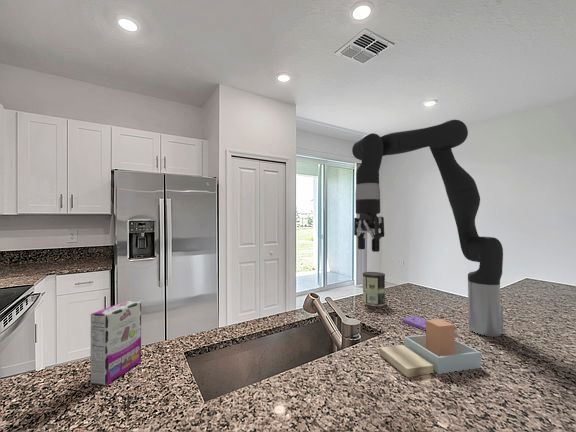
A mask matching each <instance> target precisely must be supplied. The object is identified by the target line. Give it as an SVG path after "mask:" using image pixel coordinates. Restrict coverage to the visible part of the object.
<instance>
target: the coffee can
mask: <svg viewBox="0 0 576 432" xmlns="http://www.w3.org/2000/svg"><path fill="white" fill-rule="evenodd" d="M385 276H386V274H385V273H384V272H378V271H364V272H362V302H363V303H362V304H363V305H366V306H371V307H384V306H386V277H385Z"/></svg>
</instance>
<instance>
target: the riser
mask: <svg viewBox="0 0 576 432" xmlns="http://www.w3.org/2000/svg"><path fill="white" fill-rule="evenodd" d="M379 355H380V356H381V357H382V358H383V359H385V361H387V362H388V363H389V364H391V366H393V367H394V368H395V369H397V370H398V372H400V373H401V374H402V375H404V376H405V377H406V378H411V377H418V375H419V376H425V374H426V375H431V374H430V373H433V374H434V371H433V365H432V364H431V363H429V362H428V361H426V360H425V359H423V358H422V357H420V356H419V355H417V354H416V353H414V352H413V351H411V350H410V349H408V348H407V347H405V346H404V344H399V345H397V344H396V345H388V346H381V347H379Z"/></svg>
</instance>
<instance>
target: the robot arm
mask: <svg viewBox="0 0 576 432" xmlns="http://www.w3.org/2000/svg"><path fill="white" fill-rule="evenodd" d="M468 131H469V129H468V126H467V125H466V123H464V122H463V121H461V120H459V119H450V120H449V119H448V120H446V121H445V122H442V123H440V124H439V123H438V124H437V125H433V126H428V127H423V128H415V129H409V130H404V131H395V132H388V133H386V134H383V135H378V134H377V133H373V132H371V133H368V134H366V135H364V136H363V137H361V138H359V139H358V140H357V141H355V142H354V144H353V146H352V148H351V150H352V154H353V157H354V158H355V159H357V160H359V161H361V163H360V164H359V166H358V168H357V169H356V172H355V176H356V178H355V180H356V181H355V182H356V183H355V184H356V185H355V214H357V215H359V217H354V219H353V220H354V221H353V235H354V236H356V238H357V249H358V250H365V249H366V238H365V237H366V234H367V233H368V234H369V235H370V237H371V251H372V252H374V253H379V252H380V250H381V249H380V245H381V244H380V243H381V241H380V240H381V239H382V238H384V237H385V219H384V216H378V214H379V215H380V213H381V187H380V168H381V165H382V160H383V157H385V156H393V155H399V154H405V153H409V152H413V151H414V152H415V151H417V150H421V149H424V148H427V147H429V150H430V151H431V154H432V156H433V159H434V161H435V164H436V166H437V168H438V171H439V174H440V176H441V179H442V182H443V186H444V188H445V192H446V196H447V200H448V202H449V206H450V208H451V210H452V214H453V218H454V221H455V225H456V229H457V234H458V239H459V244H460V249H461V252H462V255H463V257H464V258H465V259H467V260H468V261H471V262H475V263H479V266H478V269H476V270H474V271H470V272H469V273H468V274H467V296H468V297H467V299H468V300H467V302H468V303H467V304H468V310H467V311H468V330H469V329H470V330H471V332H472V331H473V333H474V332H475V334H477V333H478V334H477V335H480V334H481V336H484V335H485V336H484V337H491V338H492V337H494V338H495V337H496V338H497V337H500V336H502V335H504V309H503V308H504V307H503V304H502V305H501V278H502V275H503V265H504V263H503V262H504V248H503V245H502V242H501V241H500V240H499V239H498V238H496V237H492V236H479V233H478V230H477V227H476V218H477V217H476V216H477V214H478V211H479V207H480V205H481V196H480V192H479V188H478V185H477V184H476V181H475V179H474V178H473V177H472V175H470V173H468V171H466V169H464V168H463V167H462V166H461V165H460V164H459V163H458V161H457V160H456V158H455V156H454V152H453V150H452V149H453V148H456V147H458V146H461V145H462V144H463V143H464V142H465V141H466V140H467V138H468V135H469V132H468ZM470 330H469V331H470Z"/></svg>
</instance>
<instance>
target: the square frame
mask: <svg viewBox="0 0 576 432" xmlns="http://www.w3.org/2000/svg"><path fill="white" fill-rule="evenodd" d="M403 338H404V339H403V343H404V344H403V345H404V346H405V347H407V348H408V349H410V350H411V351H413V352H414V353H416V354H417V355H419V356H420V357H422V358H423V359H425V360H426V361H428V362H429V363H431V364H432V365H433V370H434V371H433V372H435V373H436V372H437V373H436V374H437V375H441V374H443V373H444V374H448V373H449V372H450V373H455V372H454V371H457V372H462V370H464V371H469V369H470V370H475V369H482V352H481V351H479V350H477V349H475V348H473V347H472V346H469V345H467V344H465V343H463V342H461V341H459V340H457V339H455V354H454V355H447V356H437V355H435V354H434V353H432V352H430V351H429V350H427V349H426V333H425V334H419V335H418V334H417V335H409V336H403Z"/></svg>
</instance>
